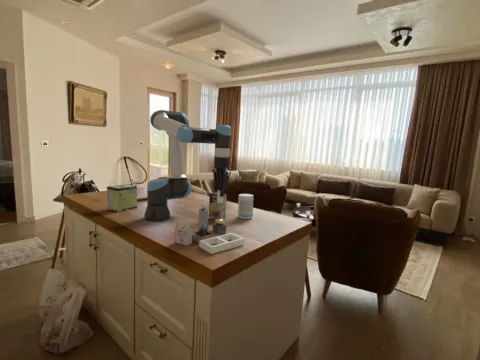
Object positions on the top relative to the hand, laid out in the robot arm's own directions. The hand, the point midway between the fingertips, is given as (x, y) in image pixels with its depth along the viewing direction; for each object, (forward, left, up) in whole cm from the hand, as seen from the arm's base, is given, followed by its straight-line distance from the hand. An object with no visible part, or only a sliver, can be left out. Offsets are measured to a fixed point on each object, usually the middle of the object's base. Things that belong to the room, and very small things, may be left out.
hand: (219, 202), depth 137 cm
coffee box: (-23, +15, -17) cm, 32 cm away
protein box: (-74, -26, -17) cm, 80 cm away
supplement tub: (-16, +32, -17) cm, 39 cm away
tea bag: (+2, -21, -17) cm, 27 cm away
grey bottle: (0, -10, -17) cm, 19 cm away
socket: (0, -7, -17) cm, 18 cm away
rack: (+14, -8, -17) cm, 24 cm away
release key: (0, 0, -16) cm, 16 cm away
